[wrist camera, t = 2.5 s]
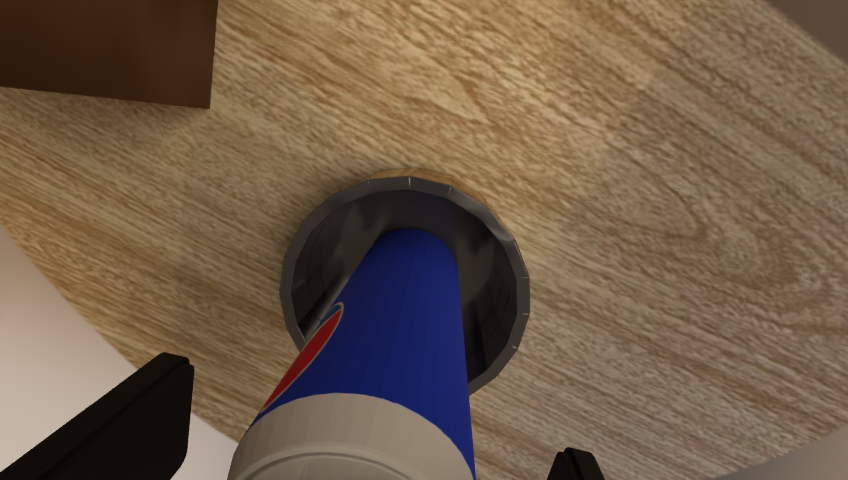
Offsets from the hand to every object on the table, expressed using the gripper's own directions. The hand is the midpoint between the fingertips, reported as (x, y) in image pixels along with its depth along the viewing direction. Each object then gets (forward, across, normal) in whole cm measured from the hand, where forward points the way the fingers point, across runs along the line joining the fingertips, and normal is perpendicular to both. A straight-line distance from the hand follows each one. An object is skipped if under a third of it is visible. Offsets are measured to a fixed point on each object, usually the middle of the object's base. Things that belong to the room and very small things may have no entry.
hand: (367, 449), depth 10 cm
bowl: (+13, 0, 0) cm, 13 cm away
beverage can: (+12, 0, 0) cm, 13 cm away
